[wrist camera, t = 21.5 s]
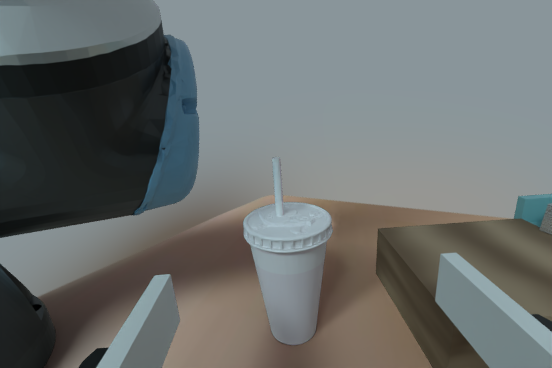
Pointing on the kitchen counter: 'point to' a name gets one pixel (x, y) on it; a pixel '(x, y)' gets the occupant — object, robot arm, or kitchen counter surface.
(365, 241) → the kitchen counter surface
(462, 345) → the olive-brown boxy piece
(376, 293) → the kitchen counter surface
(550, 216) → the chip
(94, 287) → the kitchen counter surface
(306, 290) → the smoothie
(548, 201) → the tray
